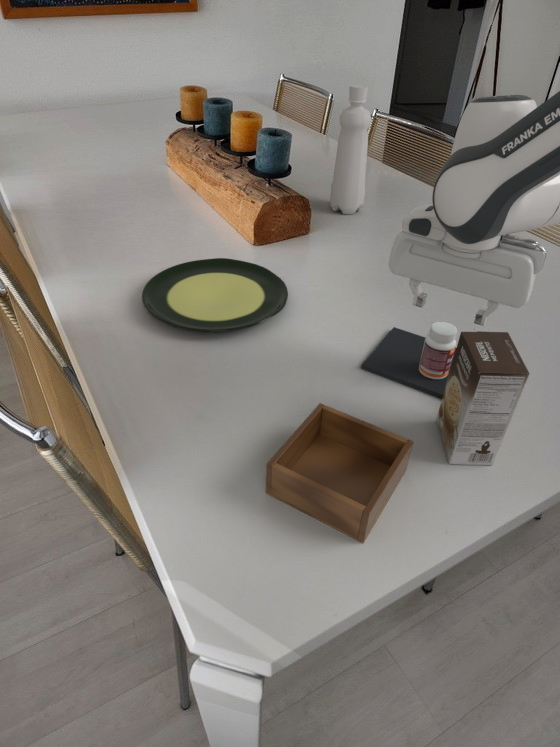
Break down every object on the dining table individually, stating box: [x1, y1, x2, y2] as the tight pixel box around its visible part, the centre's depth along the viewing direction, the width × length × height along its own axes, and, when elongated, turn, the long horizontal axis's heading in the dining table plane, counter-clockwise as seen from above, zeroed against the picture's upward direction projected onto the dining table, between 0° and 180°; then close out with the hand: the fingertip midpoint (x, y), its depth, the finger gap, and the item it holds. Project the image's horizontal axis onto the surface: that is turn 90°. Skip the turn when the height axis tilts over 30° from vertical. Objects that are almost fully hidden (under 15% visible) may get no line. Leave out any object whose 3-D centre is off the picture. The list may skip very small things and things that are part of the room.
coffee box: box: [435, 330, 531, 466], centre depth 72 cm, size 9×6×16 cm
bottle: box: [329, 83, 373, 215], centre depth 138 cm, size 9×9×30 cm
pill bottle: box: [419, 321, 458, 380], centre depth 86 cm, size 5×5×8 cm
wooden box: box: [265, 402, 414, 544], centre depth 69 cm, size 14×14×5 cm
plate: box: [141, 257, 289, 332], centre depth 105 cm, size 28×28×2 cm
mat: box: [360, 326, 457, 399], centre depth 91 cm, size 20×14×1 cm
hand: (448, 313), depth 82 cm, fingers open, 8 cm apart
